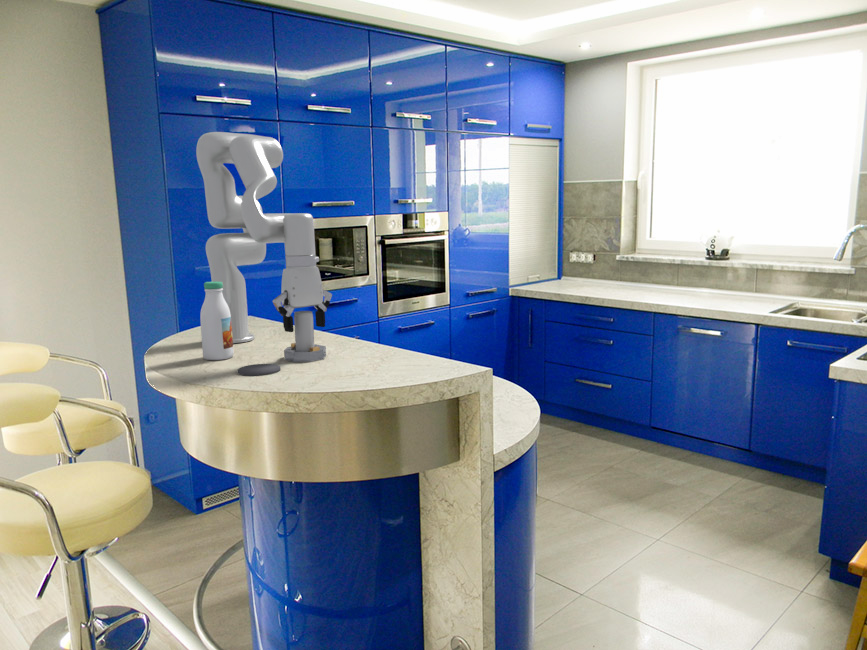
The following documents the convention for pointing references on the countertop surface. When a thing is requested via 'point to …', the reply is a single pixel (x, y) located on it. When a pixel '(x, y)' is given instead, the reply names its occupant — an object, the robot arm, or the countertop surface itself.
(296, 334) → the beverage can
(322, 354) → the ring
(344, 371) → the countertop surface
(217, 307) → the milk bottle
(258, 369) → the slate coaster
